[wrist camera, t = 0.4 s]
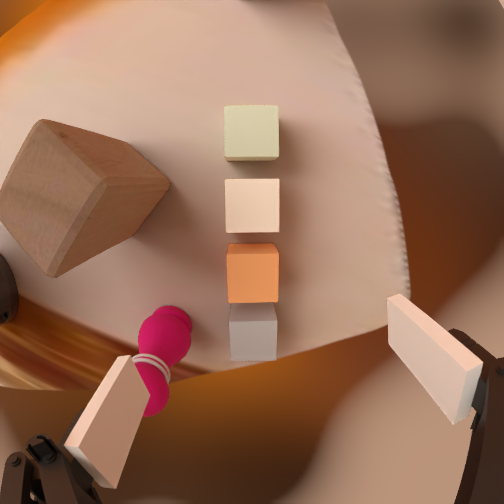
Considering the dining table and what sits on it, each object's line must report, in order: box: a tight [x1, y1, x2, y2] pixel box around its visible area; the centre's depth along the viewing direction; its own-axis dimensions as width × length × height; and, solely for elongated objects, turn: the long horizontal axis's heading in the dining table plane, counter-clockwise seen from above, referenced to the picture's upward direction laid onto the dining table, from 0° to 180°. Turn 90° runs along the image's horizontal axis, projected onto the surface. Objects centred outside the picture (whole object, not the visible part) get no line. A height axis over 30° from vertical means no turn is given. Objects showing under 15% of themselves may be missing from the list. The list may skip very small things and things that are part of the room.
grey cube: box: [229, 302, 277, 361], centre depth 40 cm, size 6×6×6 cm
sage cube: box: [224, 105, 279, 161], centre depth 34 cm, size 6×6×6 cm
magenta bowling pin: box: [132, 306, 192, 417], centre depth 32 cm, size 7×7×20 cm
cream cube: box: [225, 179, 279, 233], centre depth 36 cm, size 6×6×6 cm
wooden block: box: [0, 119, 171, 278], centre depth 28 cm, size 10×10×20 cm
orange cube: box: [226, 243, 279, 303], centre depth 38 cm, size 6×6×6 cm
